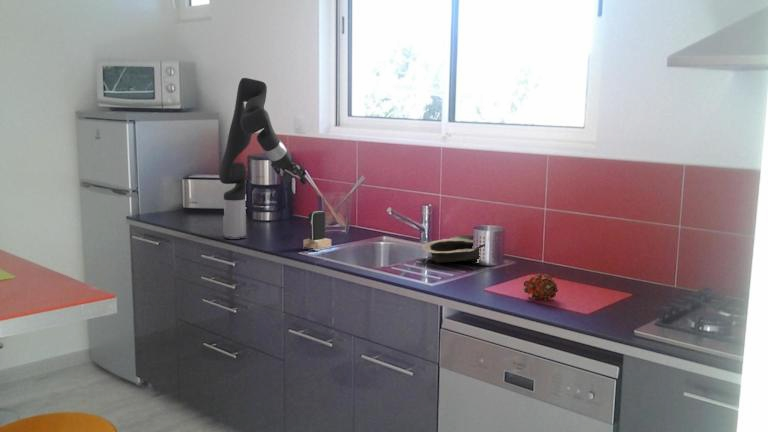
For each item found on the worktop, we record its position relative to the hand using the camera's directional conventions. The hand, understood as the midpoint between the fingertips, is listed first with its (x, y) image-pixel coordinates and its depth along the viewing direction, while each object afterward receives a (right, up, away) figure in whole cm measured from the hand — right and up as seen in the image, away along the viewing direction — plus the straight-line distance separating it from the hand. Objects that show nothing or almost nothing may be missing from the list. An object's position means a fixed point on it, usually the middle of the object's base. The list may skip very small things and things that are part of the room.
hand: (297, 181), depth 281 cm
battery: (+6, -23, +12) cm, 26 cm away
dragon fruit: (+82, -39, -60) cm, 109 cm away
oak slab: (+7, -27, +12) cm, 30 cm away
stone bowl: (+60, -31, -9) cm, 69 cm away
